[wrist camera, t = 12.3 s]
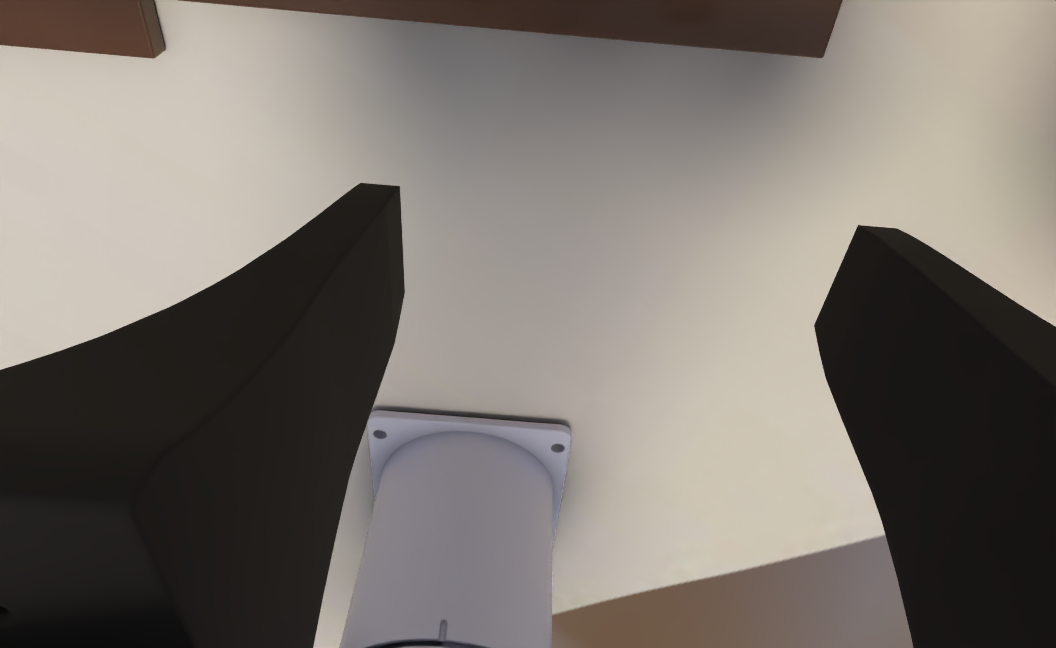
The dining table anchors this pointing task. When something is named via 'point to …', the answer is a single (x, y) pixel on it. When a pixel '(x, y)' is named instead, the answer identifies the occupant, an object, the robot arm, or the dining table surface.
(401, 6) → the spatula
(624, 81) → the dining table surface
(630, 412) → the dining table surface
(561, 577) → the dining table surface
